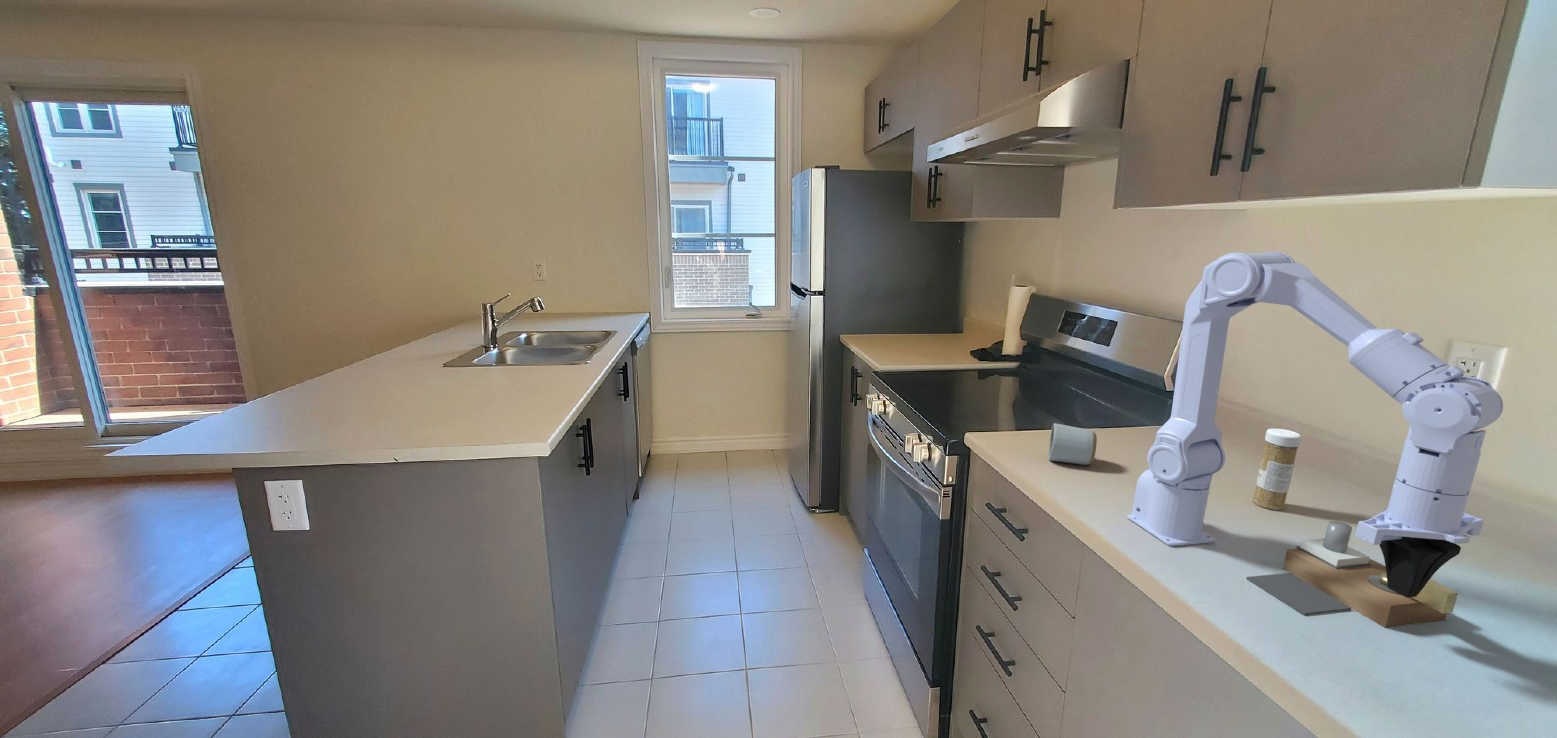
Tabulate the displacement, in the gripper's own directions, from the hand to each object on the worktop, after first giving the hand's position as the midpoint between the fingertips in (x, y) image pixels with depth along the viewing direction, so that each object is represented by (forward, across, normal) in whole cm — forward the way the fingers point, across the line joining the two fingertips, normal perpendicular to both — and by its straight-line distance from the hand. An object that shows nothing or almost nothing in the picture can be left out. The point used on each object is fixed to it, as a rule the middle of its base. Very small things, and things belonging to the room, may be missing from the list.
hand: (1401, 592), depth 71 cm
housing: (+6, +5, +8) cm, 11 cm away
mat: (+6, -3, +9) cm, 11 cm away
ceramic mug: (+6, -5, +56) cm, 56 cm away
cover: (+2, +5, +12) cm, 13 cm away
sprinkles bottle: (+6, +17, +32) cm, 36 cm away
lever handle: (+2, +5, +2) cm, 6 cm away
